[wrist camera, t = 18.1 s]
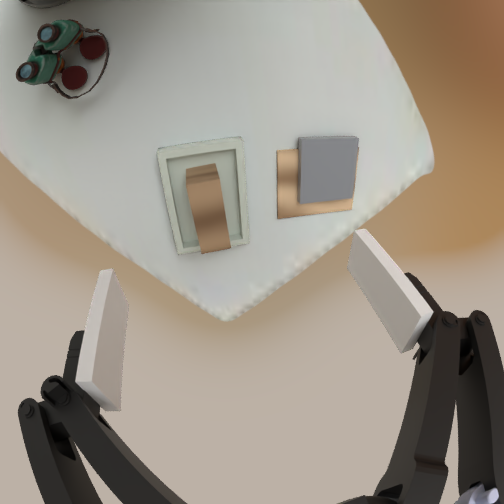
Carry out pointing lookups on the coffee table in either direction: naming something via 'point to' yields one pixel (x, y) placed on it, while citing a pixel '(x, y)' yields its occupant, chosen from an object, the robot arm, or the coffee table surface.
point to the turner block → (207, 207)
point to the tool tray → (231, 178)
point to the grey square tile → (326, 168)
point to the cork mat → (289, 190)
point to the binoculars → (49, 64)
